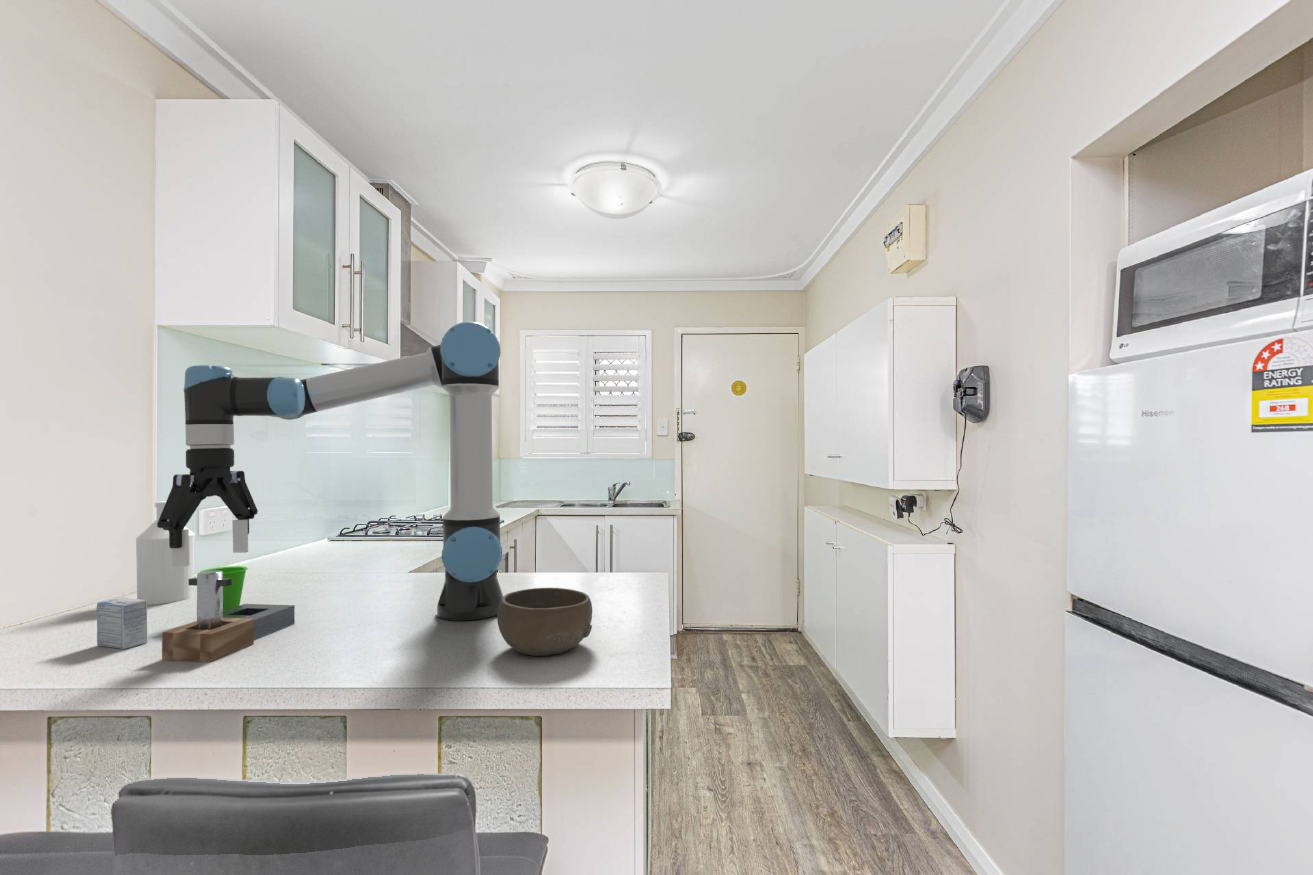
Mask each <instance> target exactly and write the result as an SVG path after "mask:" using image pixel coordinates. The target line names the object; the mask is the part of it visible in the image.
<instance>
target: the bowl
mask: <svg viewBox="0 0 1313 875" xmlns="http://www.w3.org/2000/svg"><path fill="white" fill-rule="evenodd" d="M592 605H593V604H592V600H591V597H590V596H589V594H587V593H586V592H583V591H579V590H577V589H576V590H575V589H572V588H571V589H570V588H563V587H562V588H561V587H537V588H536V587H535V588H527V589H519V590H516V591H512V592H509V593H506V594H505V595H503V598H502V600H501V602H500V605H499V608H498V612H497V615H496V621H497V626H498V630H499V632H500V635H501V636H502V639H503V640H504V641H505V643H506V644H507V645H508V646H509V647H510V648H512V649H513V650H515V651H516V652H518V653H521V654H523V655H527V656H533V657H534V656H535V657H541V656H542V657H544V656H546V657H547V656H552V655H558V654H561V653H564V652H565V653H566V652H567V651H569V650H571V649H573V648H575V647H576V646H578V644H579V643H581V641H583V640H584V638H587V637H589V635H590V634H591V631H592V628H593V625H592V624H591V623H592V619H593V606H592Z"/></svg>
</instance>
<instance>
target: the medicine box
mask: <svg viewBox="0 0 1313 875" xmlns="http://www.w3.org/2000/svg"><path fill="white" fill-rule="evenodd" d="M147 643H148V605H147V601H146V600H142V599H137V598H132V597H122V596H121V597H116V598H110V599H106V600H102V601H98V602H97V604H96V644H97V646H99V647H105V648H106V647H107V648H115V649H120V650H125V649H131V648H134V647H137V646H142V645H144V644H147Z"/></svg>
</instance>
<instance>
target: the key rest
mask: <svg viewBox="0 0 1313 875" xmlns="http://www.w3.org/2000/svg"><path fill="white" fill-rule="evenodd" d="M254 643H255V640H254V619H248V618H223V626H220V627H218V628H215V629H212V630H198V629H197V620H196V621H193V622H189V623H186V624H183V625H180V626H177V627H174V628H172V629H168V630H163V631H162V632H161V660H163V661H186V662H189V661H190V662H208V663H209V662H211V663H212V662H214V661H217V660H219V659H221V658H224V657H226V656H229V655H231V654H233V653H236V652H238V651H241V650H243V649H246V648H248V647H251V646H253V645H254Z"/></svg>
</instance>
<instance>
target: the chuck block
mask: <svg viewBox="0 0 1313 875" xmlns="http://www.w3.org/2000/svg"><path fill="white" fill-rule="evenodd" d="M295 608H296V606H295V605H294V604H264V603H262V604H259V603H243V604H240V605H239V606H237V607H234V608H231V609H228V610H224V611H223V618H248V619H254V641H256V640H257V639H261V638H263V637H265V636H267V635H269V634H272V633H275V632H277V631H280V630H282V629H284V628H287V627H289V626H292V625H295V622H296V620H295V618H296V617H295V616H296V615H295V614H296V613H295V612H296V611H295V610H296V609H295Z"/></svg>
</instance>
